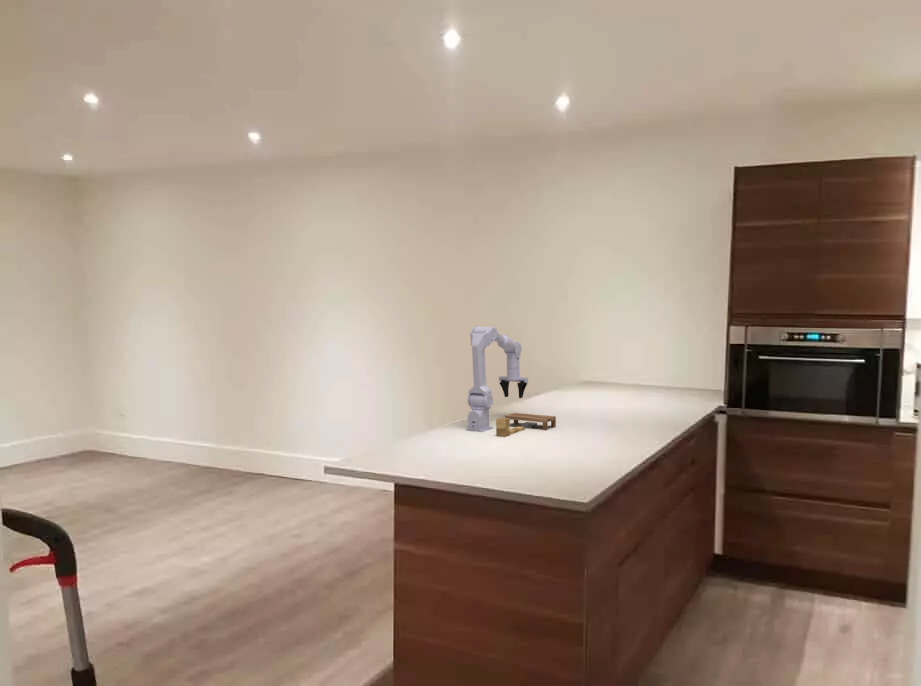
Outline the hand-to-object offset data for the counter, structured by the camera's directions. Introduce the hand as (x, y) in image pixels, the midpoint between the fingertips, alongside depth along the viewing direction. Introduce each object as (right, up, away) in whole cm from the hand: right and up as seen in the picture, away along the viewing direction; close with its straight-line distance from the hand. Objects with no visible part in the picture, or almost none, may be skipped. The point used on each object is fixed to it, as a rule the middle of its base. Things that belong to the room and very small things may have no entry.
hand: (513, 397), depth 342 cm
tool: (-3, -12, -32) cm, 35 cm away
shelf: (+6, -11, -19) cm, 23 cm away
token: (+5, -12, -20) cm, 24 cm away
